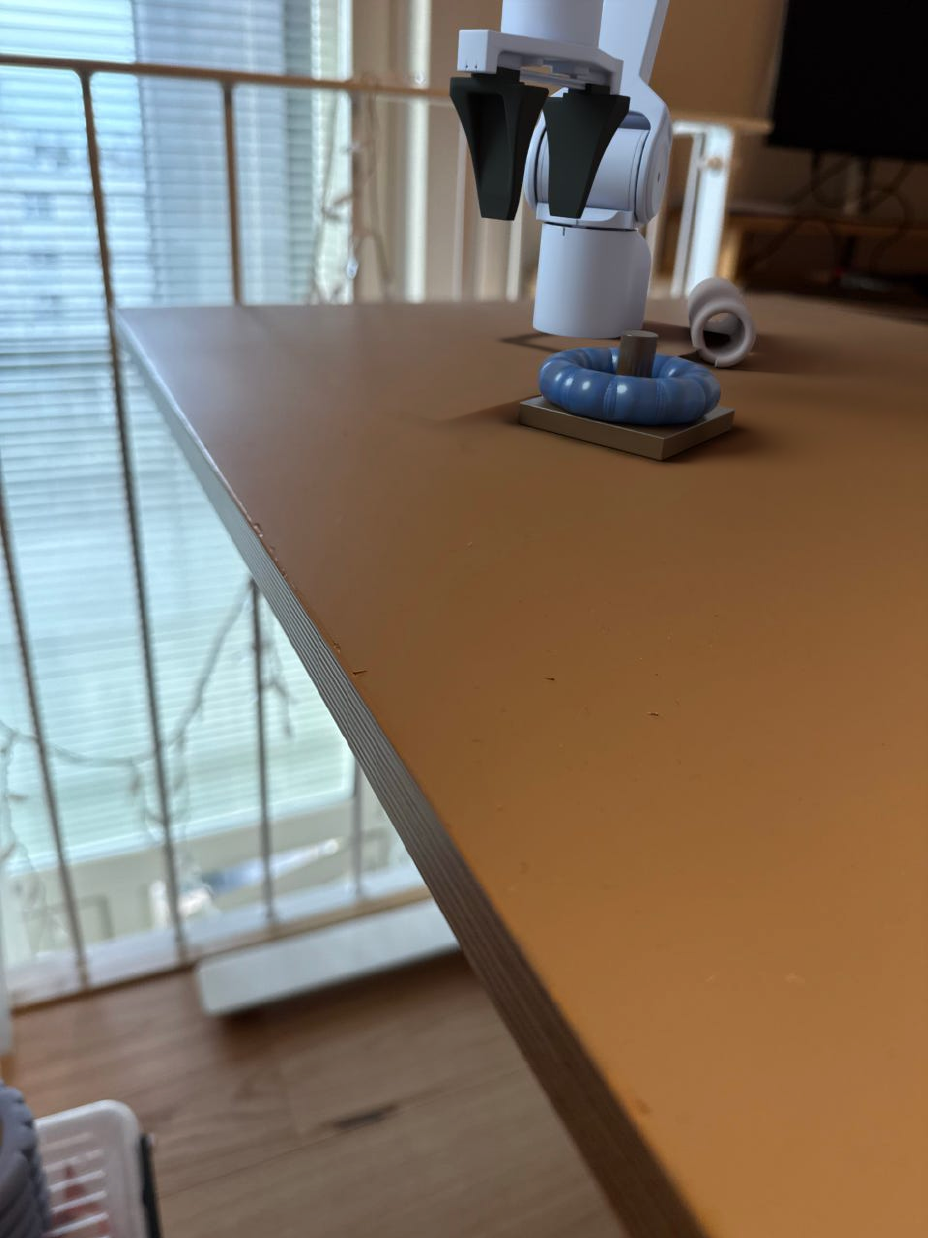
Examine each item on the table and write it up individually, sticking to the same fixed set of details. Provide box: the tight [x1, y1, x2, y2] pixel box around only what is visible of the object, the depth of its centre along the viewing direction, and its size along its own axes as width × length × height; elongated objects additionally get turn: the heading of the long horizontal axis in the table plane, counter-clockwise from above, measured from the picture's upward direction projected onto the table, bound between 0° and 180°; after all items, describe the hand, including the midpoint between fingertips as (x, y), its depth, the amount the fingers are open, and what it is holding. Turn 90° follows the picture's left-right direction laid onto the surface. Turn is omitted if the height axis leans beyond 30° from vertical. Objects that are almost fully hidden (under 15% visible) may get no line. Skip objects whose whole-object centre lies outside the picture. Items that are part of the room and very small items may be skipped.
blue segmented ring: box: [538, 346, 722, 425], centre depth 52 cm, size 10×10×2 cm
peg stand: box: [517, 329, 736, 461], centre depth 52 cm, size 9×9×5 cm
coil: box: [686, 276, 757, 368], centre depth 77 cm, size 5×5×18 cm
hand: (532, 218), depth 58 cm, fingers open, 7 cm apart
